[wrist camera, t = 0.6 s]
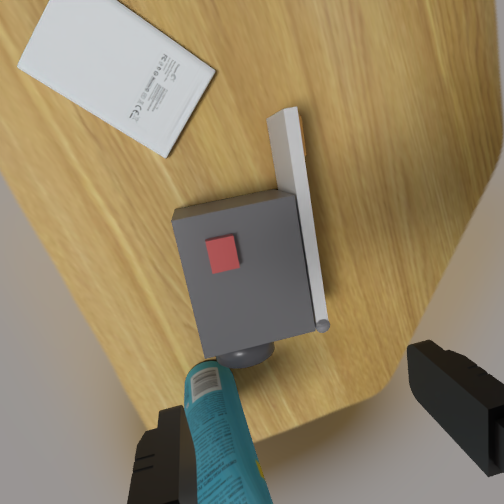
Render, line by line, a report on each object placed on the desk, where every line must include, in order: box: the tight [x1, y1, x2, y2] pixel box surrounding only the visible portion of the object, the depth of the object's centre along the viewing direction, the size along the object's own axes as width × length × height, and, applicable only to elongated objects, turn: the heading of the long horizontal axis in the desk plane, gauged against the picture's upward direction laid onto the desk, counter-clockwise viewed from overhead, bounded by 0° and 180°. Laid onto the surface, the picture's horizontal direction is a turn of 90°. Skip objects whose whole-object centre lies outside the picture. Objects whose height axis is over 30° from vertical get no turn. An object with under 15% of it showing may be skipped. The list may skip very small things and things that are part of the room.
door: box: [266, 107, 330, 333], centre depth 31 cm, size 18×2×6 cm, turn 11°
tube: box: [184, 361, 273, 504], centre depth 28 cm, size 7×5×19 cm, turn 138°
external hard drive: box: [17, 0, 215, 158], centre depth 30 cm, size 2×8×12 cm
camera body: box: [171, 189, 316, 368], centre depth 31 cm, size 13×9×8 cm
